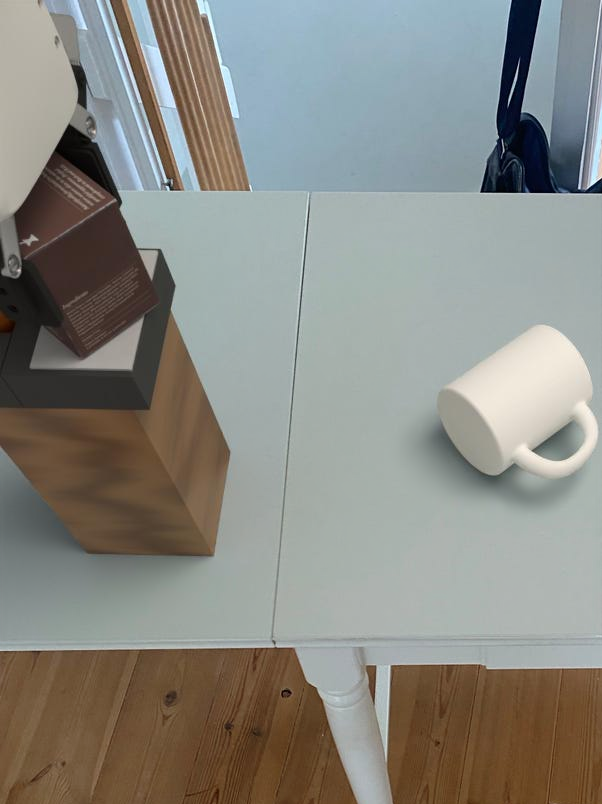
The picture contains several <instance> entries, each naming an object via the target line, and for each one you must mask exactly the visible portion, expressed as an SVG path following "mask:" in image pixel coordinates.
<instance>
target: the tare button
mask: <svg viewBox="0 0 602 804" xmlns="http://www.w3.org/2000/svg"><path fill="white" fill-rule="evenodd" d="M15 323H16V322H15V321H13V320H10V319H8V318H6V317H5V316H4V315H3V313H2V312H1V310H0V332H4V333H13V330H14V327H15Z"/></svg>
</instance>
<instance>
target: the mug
mask: <svg viewBox="0 0 602 804" xmlns="http://www.w3.org/2000/svg"><path fill="white" fill-rule="evenodd" d="M593 393H594V388H593V382H592V378H591V374H590V372H589V369H588V367H587V364H586V362H585V360H584V359H583V356H582V355H581V353H580V352H579V350H578V349H577V348H576V346H575V345H574V344H573V343H572V342H571V340H570V339H569V338H568V337H567V336H565V335H564V334H563V333H562V332H561V331H559V330H557V329H556V328H554V327H552V326H549V325H546V324H535V325H533V326H531V327H530V328H528V329H527V330H526V331H524V332H522V333H521V334H520V335H518V336H516V337H515V338H514V339H512V340H510V341H509V342H508V343H507V344H505V345H503V346H502V347H501V348H499V349H498V350H496V351H495V352H494V353H492V354H491V355H489V356H487V357H486V358H485V359H483V360H481V361H480V362H479V363H478V364H476V365H474V366H473V367H471V368H470V369H468V370H467V371H466V372H464V373H463V374H461V375H460V376H459V377H457V378H455V379H454V380H453V381H451V382H450V383H448V384H447V385H445V386H444V387H442V389H440V390H439V392H438V394H437V401H436V402H437V409H438V410H437V411H438V414H439V418H440V421H441V423H442V425H443V428H444V430H445V432H446V434H447V435H448V438H449V439H450V440H451V442H452V444H453V445H454V446H455V448H456V449H457V451H458V452H459V453H460V455H461V456H462V457H463V458H464V459H465V460H466V461H467V462H468V463H469V464H470V465H471V466H473V467H474V468H475V469H476V470H478V471H479V472H481V473H483V474H485V475H488V476H498V475H500V474H502V473H503V472H504V471H506V470H508V468H510V467H512V465H514V464H515V465H517V466H518V467H519V468H521V469H522V470H523V471H524V472H525V471H526V472H527V473H529V474H531V475H533V476H535V477H538V478H541V479H546V480H547V479H548V480H555V479H556V480H557V479H561V478H565V477H567V476H569V475H572V474H573V473H575V472H577V470H579V469H580V468H582V466H584V465H585V464H586V462H587V461H588V460H589V459H590V458H591V456H592V454H593V453H594V451H595V449H596V447H597V444H598V440H599V425H598V421H597V419H596V416H595V415H594V413H593V411H592V410H591V409H590V406H591V404H592V402H593V401H592V400H593V397H594V394H593ZM572 421H575V422H576V423H577V425H578V426H579V428H580V429H581V431H582V435H583V442H582V444H581V446H580V448H578V450H577V451H576V452H575V453H574V454H573V455H570V457H568V458H566V459H564V460H551V459H547V458H544V457H542V456H540V455H538V454H537V453H536V452H533V450H534V449H536V448H537V447H539V446H540V445H541V444H543V443H544V442H546V440H548V439H549V438H551V437H552V436H553V435H554V434H556V433H557V432H558V431H560V430H562V429H563V428H564V427H565V426H567V425H568V424H570V422H572Z"/></svg>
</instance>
